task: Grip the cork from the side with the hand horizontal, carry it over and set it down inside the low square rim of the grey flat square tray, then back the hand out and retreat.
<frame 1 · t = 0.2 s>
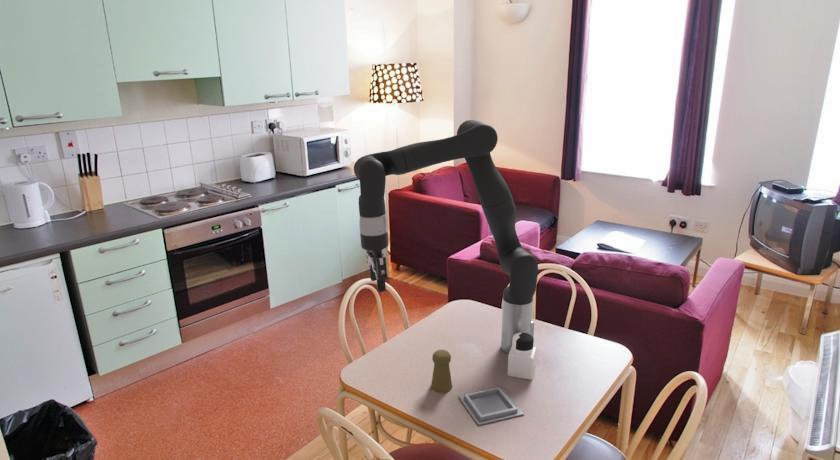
hand: (378, 285, 155), 29 cm above the table, tool pointing down, fingers open, 8 cm apart
grey flat square tray: (490, 406, 148), on the table
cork: (441, 387, 158), on the table
medicine bottle: (521, 372, 164), on the table
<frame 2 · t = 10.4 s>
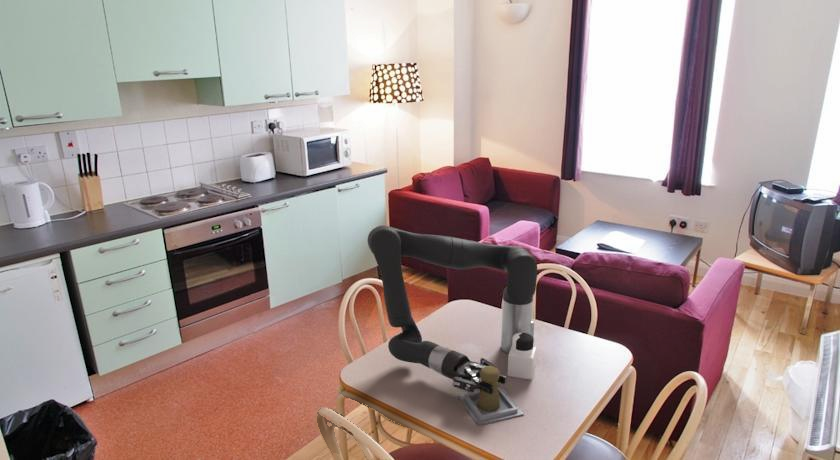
hand: (499, 385, 145), 7 cm above the table, tool horizontal, fingers open, 5 cm apart
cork: (488, 405, 148), resting on grey flat square tray, touching gripper
everything else where it was.
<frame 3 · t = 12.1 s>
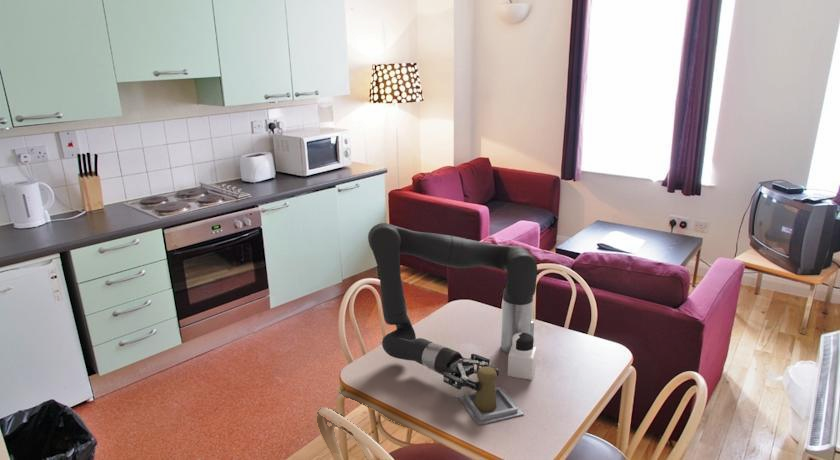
hand: (489, 380, 147), 8 cm above the table, tool horizontal, fingers open, 8 cm apart
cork: (485, 406, 148), resting on grey flat square tray
everything else where it was.
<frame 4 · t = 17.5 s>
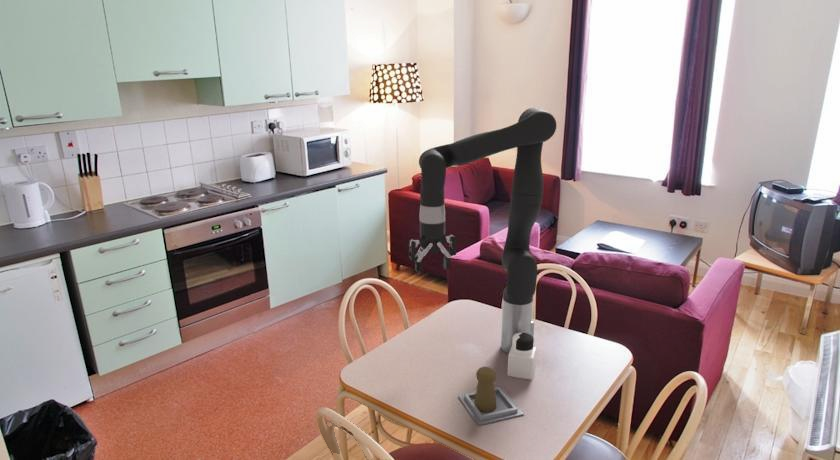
hand: (432, 270, 166), 28 cm above the table, tool pointing down, fingers open, 8 cm apart
nothing on the table moved.
at the end: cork inside the target area on the grey flat square tray (1.5 cm from its centre), point 0.2 cm above the grey flat square tray's base; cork tilted 0°; the gripper is holding nothing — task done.
